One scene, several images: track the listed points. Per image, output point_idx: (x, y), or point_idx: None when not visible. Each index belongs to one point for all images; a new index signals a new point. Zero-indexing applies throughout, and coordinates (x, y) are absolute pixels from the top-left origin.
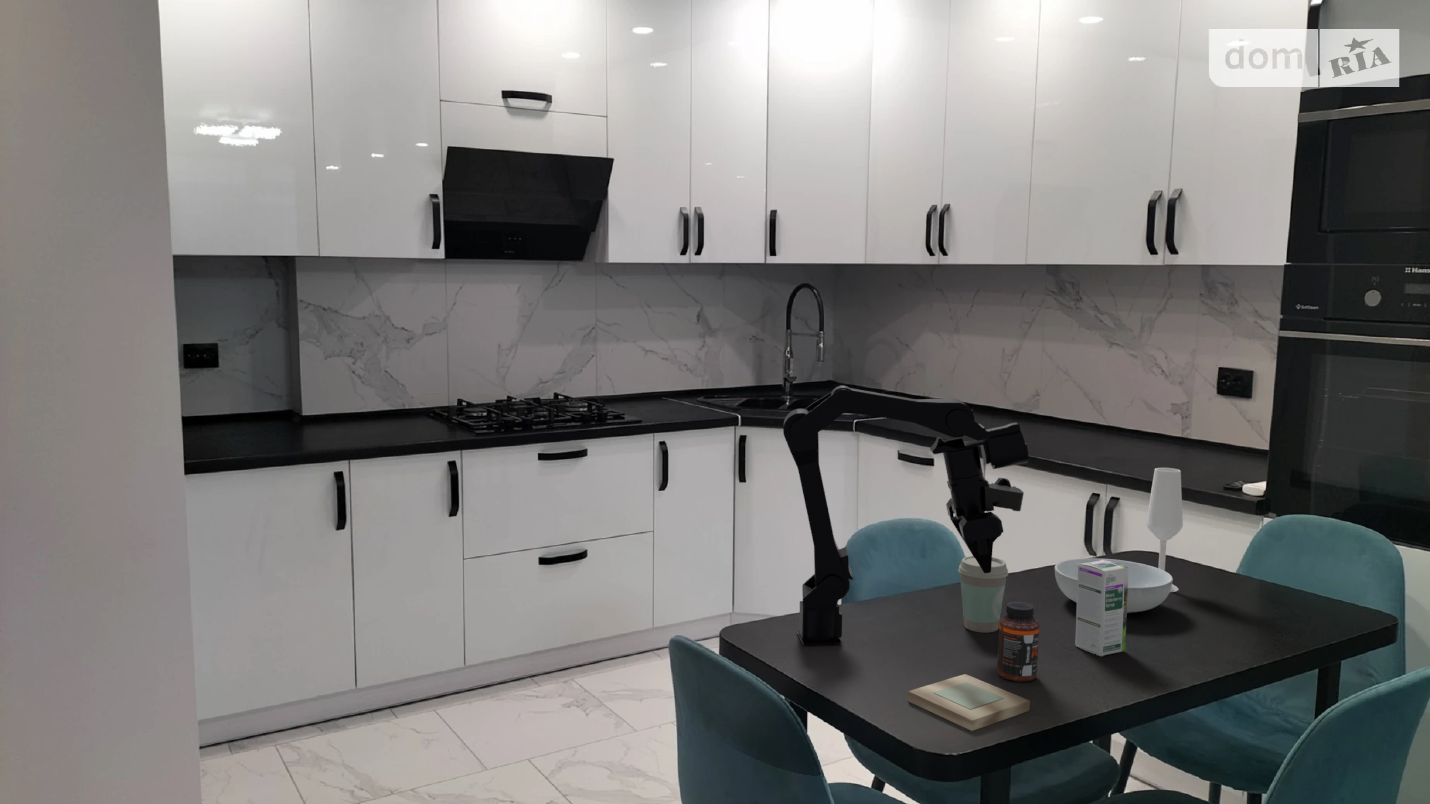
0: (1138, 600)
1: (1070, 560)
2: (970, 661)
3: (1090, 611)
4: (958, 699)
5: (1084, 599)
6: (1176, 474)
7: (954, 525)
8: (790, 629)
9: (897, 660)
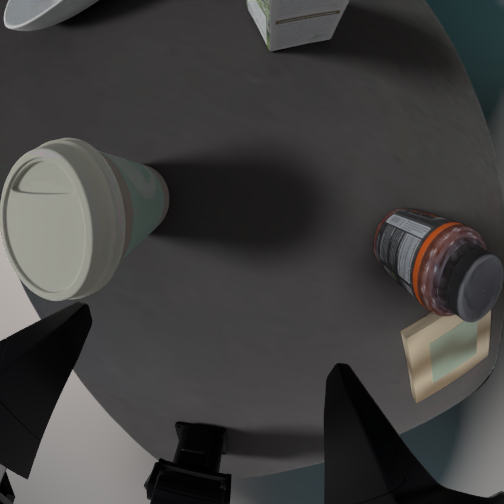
0: None
1: (6, 11)
2: (323, 293)
3: (316, 1)
4: (457, 361)
5: None
6: None
7: (32, 463)
8: (169, 444)
9: (293, 390)
